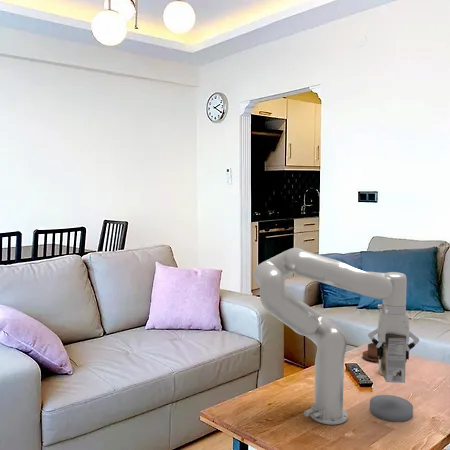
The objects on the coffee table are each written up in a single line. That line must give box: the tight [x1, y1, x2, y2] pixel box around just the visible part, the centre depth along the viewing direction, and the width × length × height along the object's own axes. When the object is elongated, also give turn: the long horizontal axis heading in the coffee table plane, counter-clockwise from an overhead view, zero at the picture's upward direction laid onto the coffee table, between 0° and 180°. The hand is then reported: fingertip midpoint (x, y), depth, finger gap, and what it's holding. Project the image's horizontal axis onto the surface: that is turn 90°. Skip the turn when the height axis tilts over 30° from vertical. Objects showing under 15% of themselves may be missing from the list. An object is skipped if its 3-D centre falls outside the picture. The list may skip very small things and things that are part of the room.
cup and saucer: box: [361, 342, 379, 363], centre depth 220 cm, size 12×12×6 cm
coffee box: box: [380, 334, 407, 384], centre depth 167 cm, size 9×6×16 cm
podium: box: [369, 394, 414, 423], centre depth 169 cm, size 14×14×3 cm
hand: (392, 359), depth 167 cm, fingers closed on coffee box, 7 cm apart
